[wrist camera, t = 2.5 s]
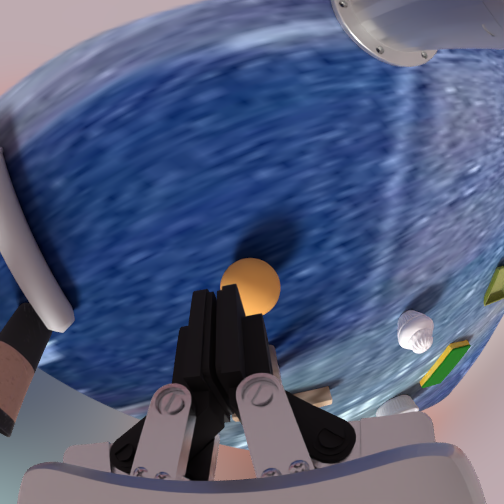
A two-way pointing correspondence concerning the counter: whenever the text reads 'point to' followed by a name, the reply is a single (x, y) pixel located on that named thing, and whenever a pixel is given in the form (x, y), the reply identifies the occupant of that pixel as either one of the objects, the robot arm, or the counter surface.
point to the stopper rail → (311, 398)
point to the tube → (29, 260)
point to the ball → (254, 284)
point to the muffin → (415, 331)
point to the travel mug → (19, 361)
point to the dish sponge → (445, 363)
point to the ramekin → (397, 406)
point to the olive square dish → (495, 287)
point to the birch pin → (274, 362)
